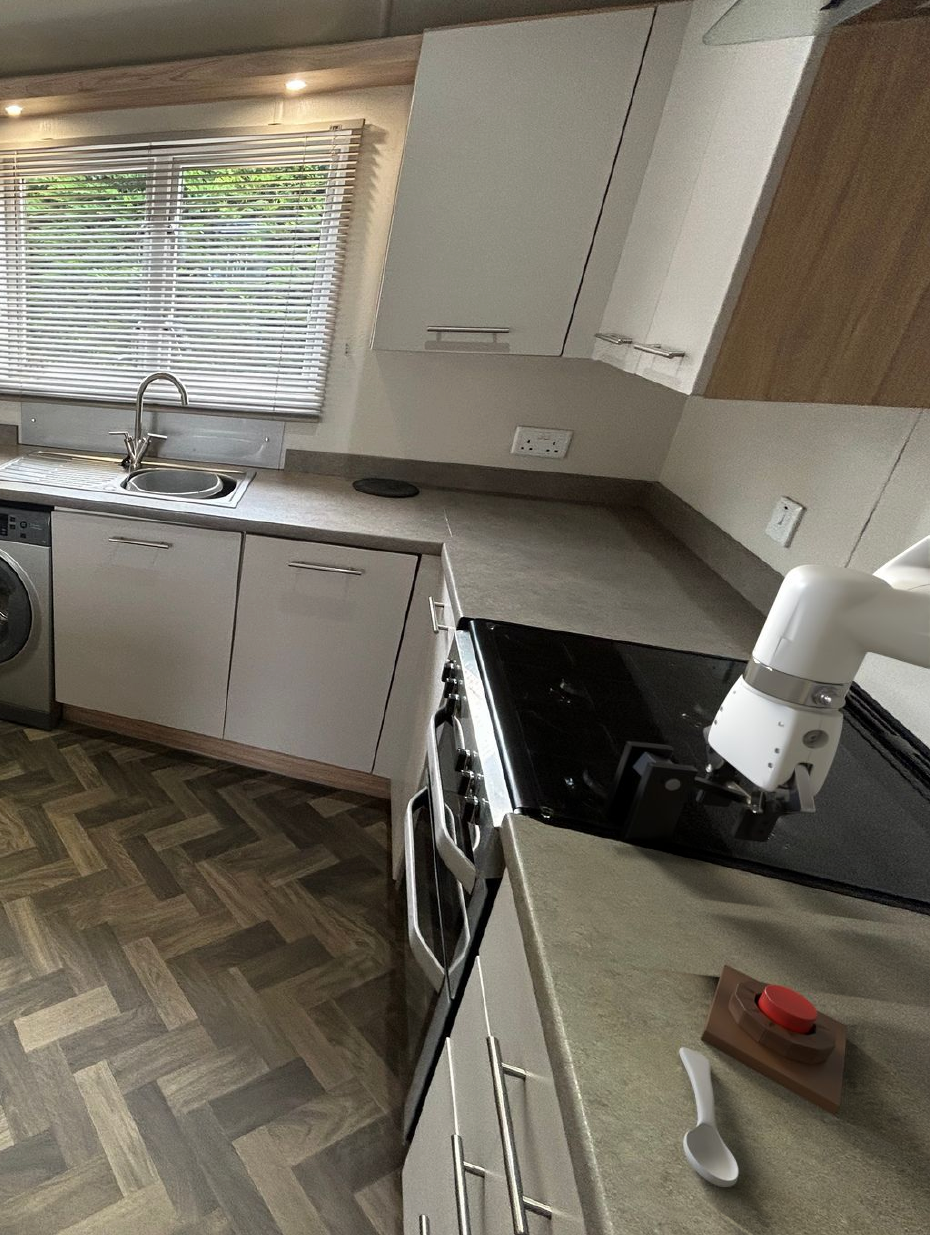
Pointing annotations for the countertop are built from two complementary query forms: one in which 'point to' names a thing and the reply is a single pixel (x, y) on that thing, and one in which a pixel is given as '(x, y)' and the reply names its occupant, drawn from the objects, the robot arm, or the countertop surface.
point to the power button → (787, 1009)
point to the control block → (776, 1042)
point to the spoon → (706, 1127)
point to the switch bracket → (648, 794)
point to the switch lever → (700, 781)
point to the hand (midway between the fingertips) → (729, 819)
